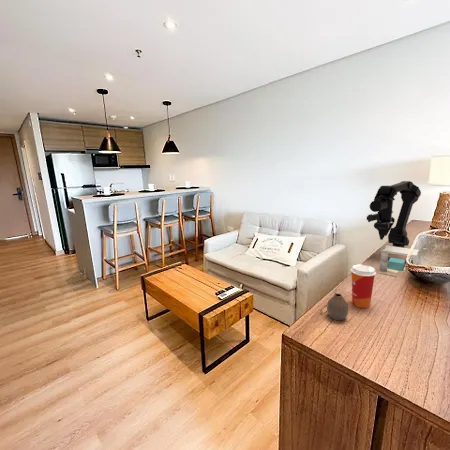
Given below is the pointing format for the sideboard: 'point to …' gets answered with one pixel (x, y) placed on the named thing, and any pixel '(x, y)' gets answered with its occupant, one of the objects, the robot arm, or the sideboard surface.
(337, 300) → the vase
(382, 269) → the sled
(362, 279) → the coffee cup
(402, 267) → the block
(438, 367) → the sideboard surface
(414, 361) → the sideboard surface
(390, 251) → the tunnel
